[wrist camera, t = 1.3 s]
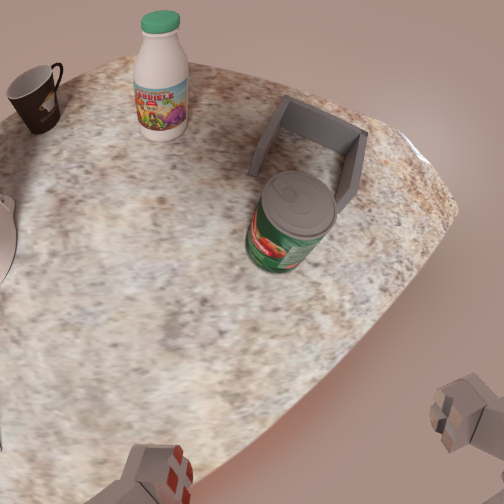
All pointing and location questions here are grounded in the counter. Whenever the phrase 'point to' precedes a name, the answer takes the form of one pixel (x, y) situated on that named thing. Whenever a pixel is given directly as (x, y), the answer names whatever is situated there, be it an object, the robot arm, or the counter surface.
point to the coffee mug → (36, 98)
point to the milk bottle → (161, 78)
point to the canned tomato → (289, 221)
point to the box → (318, 141)
